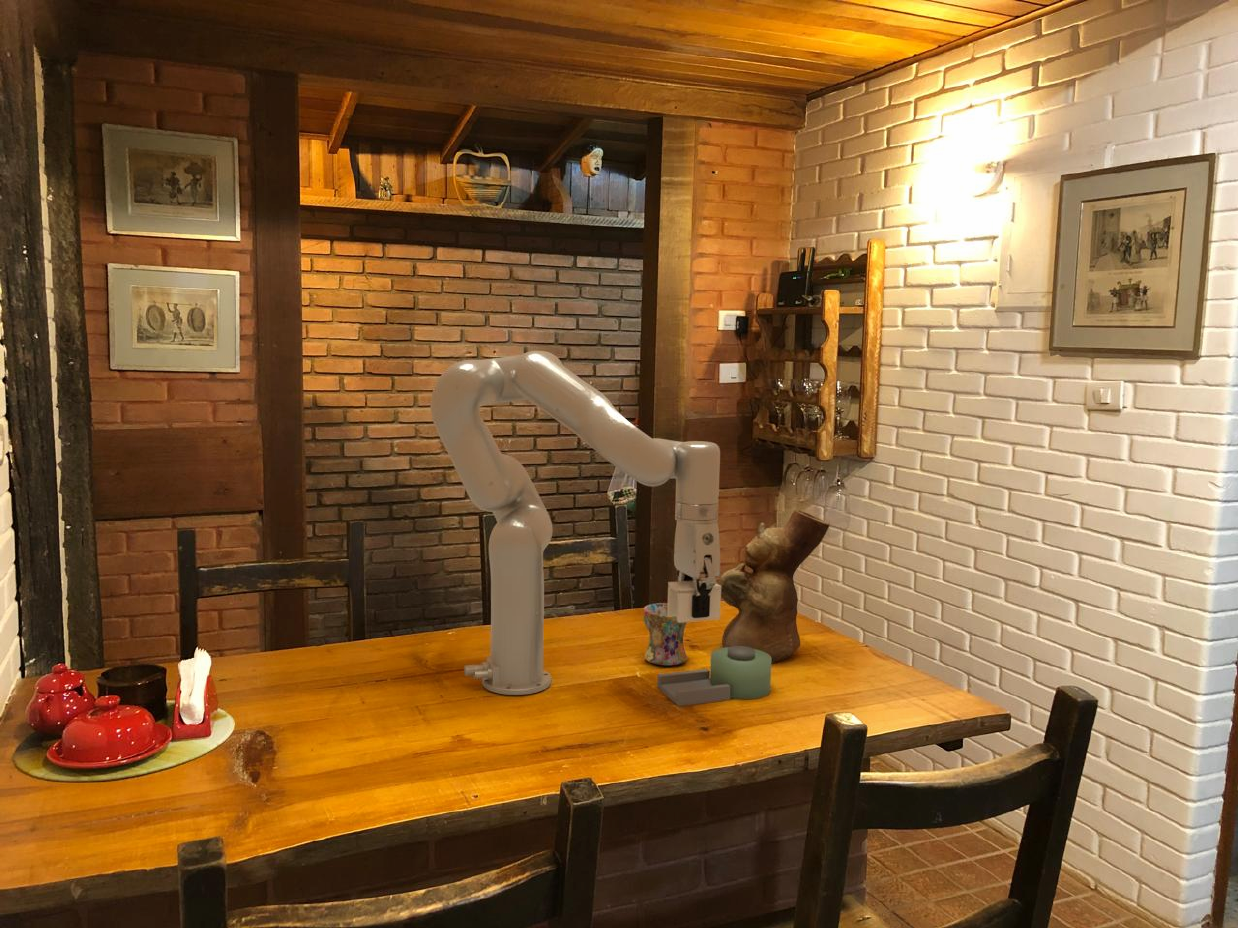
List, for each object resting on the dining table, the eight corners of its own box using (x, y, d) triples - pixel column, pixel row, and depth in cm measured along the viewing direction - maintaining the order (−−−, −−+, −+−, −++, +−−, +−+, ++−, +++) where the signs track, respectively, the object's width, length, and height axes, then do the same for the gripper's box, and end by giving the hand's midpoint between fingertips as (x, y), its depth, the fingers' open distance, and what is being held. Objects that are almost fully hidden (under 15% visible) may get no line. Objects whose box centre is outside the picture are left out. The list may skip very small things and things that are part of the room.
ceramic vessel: (714, 639, 197) (719, 501, 193) (816, 643, 196) (823, 505, 193) (719, 664, 181) (725, 514, 178) (830, 668, 180) (838, 518, 177)
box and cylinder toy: (680, 707, 158) (681, 667, 157) (655, 685, 168) (656, 647, 168) (781, 695, 165) (783, 656, 164) (751, 674, 175) (753, 638, 175)
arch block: (707, 611, 167) (708, 579, 166) (720, 618, 162) (721, 585, 162) (667, 614, 164) (668, 582, 163) (678, 622, 159) (679, 588, 159)
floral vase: (698, 663, 181) (700, 611, 180) (661, 672, 176) (663, 618, 175) (661, 647, 191) (662, 597, 190) (625, 654, 186) (626, 603, 184)
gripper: (738, 519, 154) (734, 624, 156) (695, 503, 170) (692, 598, 172) (698, 521, 152) (694, 628, 154) (658, 504, 167) (655, 601, 170)
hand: (693, 611), depth 163 cm, fingers closed on arch block, 5 cm apart
